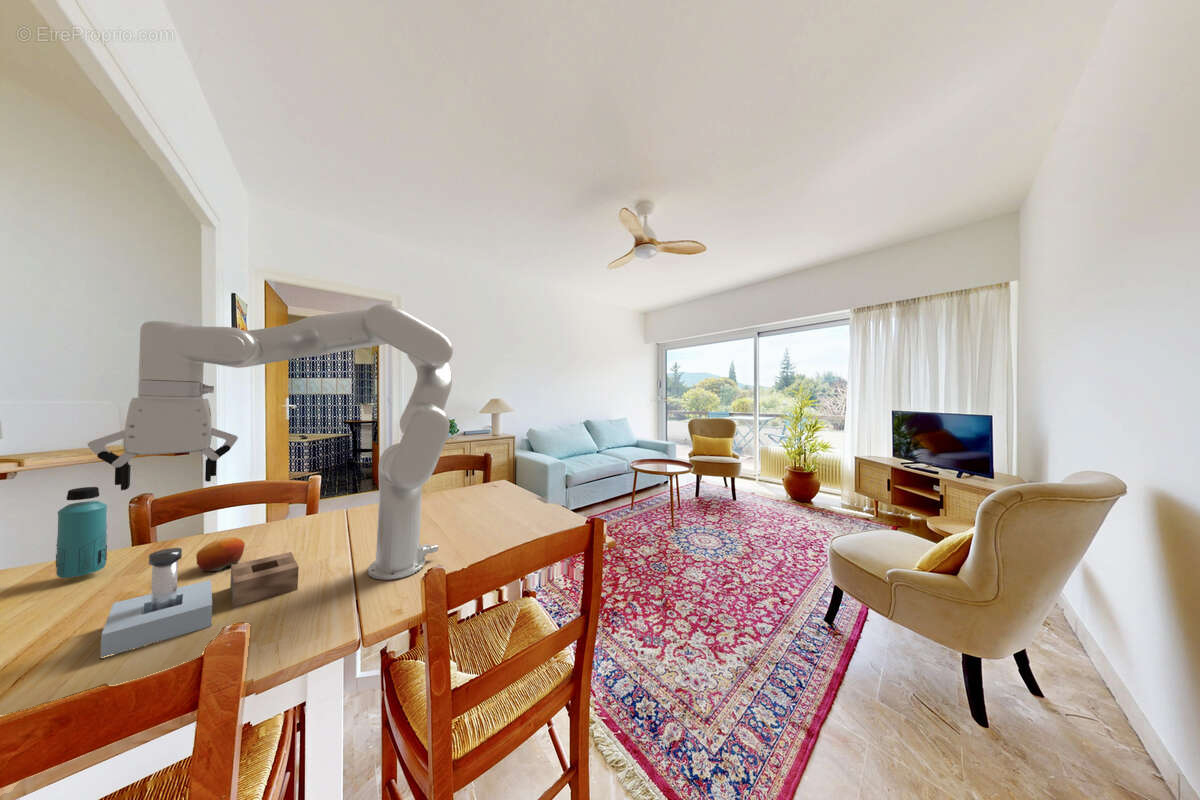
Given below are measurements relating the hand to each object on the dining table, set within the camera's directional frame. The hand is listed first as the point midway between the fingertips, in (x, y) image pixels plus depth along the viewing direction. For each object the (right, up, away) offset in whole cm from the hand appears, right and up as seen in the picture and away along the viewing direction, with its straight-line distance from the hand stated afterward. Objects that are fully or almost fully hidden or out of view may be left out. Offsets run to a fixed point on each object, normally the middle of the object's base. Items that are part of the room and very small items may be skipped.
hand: (168, 484), depth 65 cm
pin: (-1, -26, 0) cm, 26 cm away
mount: (+5, -26, +13) cm, 30 cm away
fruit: (-13, -25, +21) cm, 36 cm away
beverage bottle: (-36, -24, +14) cm, 46 cm away
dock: (-1, -26, 0) cm, 26 cm away
